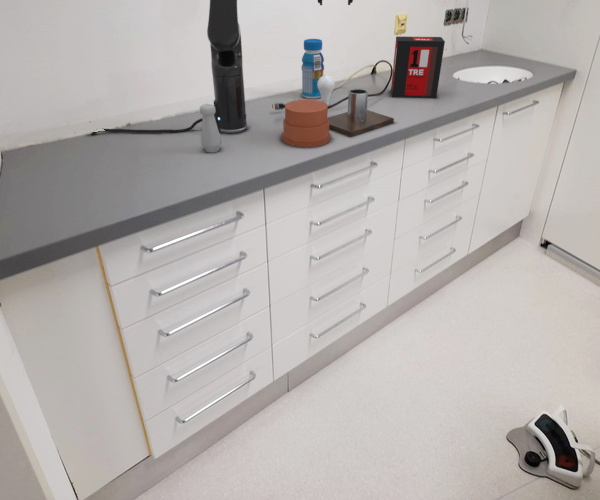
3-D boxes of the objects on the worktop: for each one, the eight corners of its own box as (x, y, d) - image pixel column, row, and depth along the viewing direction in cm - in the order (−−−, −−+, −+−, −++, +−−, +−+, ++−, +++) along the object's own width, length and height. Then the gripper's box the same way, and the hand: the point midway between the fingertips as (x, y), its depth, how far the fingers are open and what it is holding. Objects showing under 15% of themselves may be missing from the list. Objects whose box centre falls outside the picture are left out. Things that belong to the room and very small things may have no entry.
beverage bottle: (299, 98, 181) (298, 41, 170) (304, 92, 188) (304, 37, 177) (321, 99, 179) (322, 42, 168) (325, 93, 186) (326, 38, 175)
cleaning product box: (392, 97, 181) (397, 40, 170) (390, 90, 189) (396, 36, 178) (436, 98, 180) (444, 41, 169) (433, 91, 187) (441, 37, 176)
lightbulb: (320, 110, 168) (320, 78, 162) (315, 105, 173) (315, 74, 167) (336, 108, 170) (337, 76, 164) (330, 103, 175) (331, 72, 168)
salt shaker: (213, 144, 141) (208, 100, 134) (226, 149, 138) (222, 104, 131) (198, 150, 137) (192, 105, 130) (211, 155, 134) (206, 109, 127)
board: (350, 136, 146) (351, 132, 145) (318, 124, 156) (318, 120, 155) (393, 122, 157) (394, 118, 156) (360, 112, 166) (360, 107, 165)
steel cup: (347, 122, 153) (349, 93, 148) (347, 116, 158) (348, 88, 153) (366, 122, 153) (368, 94, 148) (365, 116, 158) (367, 88, 153)
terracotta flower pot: (280, 147, 139) (279, 113, 134) (283, 130, 152) (283, 98, 146) (330, 147, 139) (331, 113, 133) (330, 130, 151) (331, 98, 145)
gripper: (361, -59, 138) (357, 3, 147) (312, -59, 139) (311, 3, 148) (362, -59, 132) (359, 6, 141) (311, -59, 132) (311, 6, 141)
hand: (334, 4), depth 144 cm, fingers open, 8 cm apart
